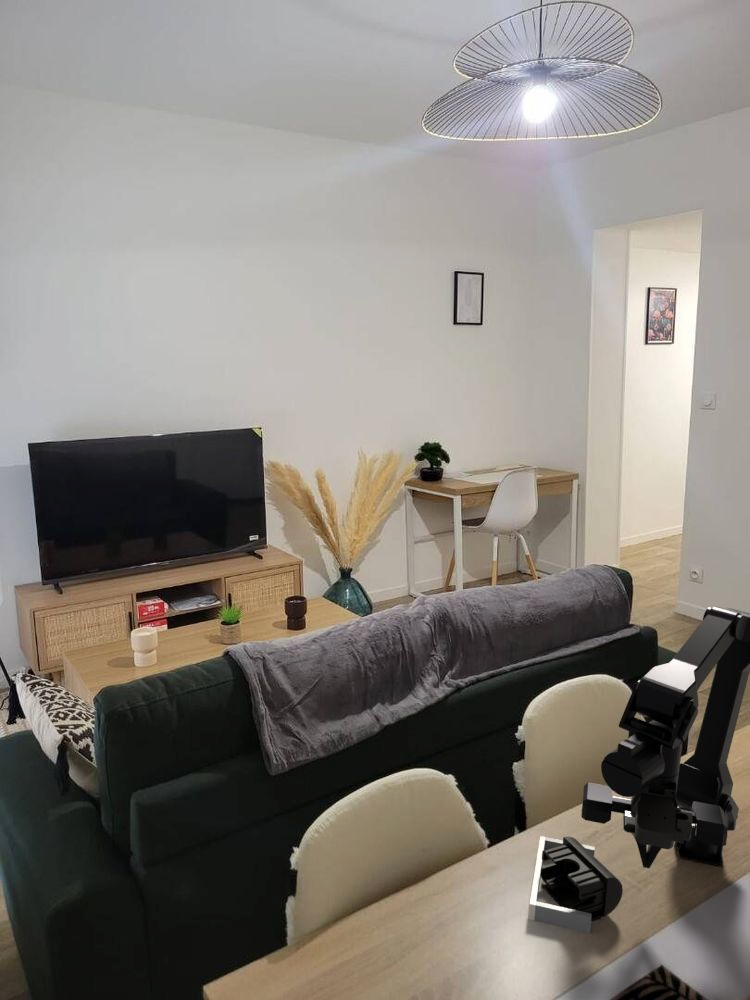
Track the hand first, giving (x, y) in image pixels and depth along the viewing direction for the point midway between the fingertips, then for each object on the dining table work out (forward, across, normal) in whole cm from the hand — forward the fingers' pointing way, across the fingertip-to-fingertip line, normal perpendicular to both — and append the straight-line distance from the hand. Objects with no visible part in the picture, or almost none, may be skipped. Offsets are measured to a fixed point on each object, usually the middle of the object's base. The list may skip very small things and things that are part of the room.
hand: (646, 866), depth 110 cm
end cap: (+7, -9, -1) cm, 11 cm away
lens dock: (+7, -11, 0) cm, 13 cm away
